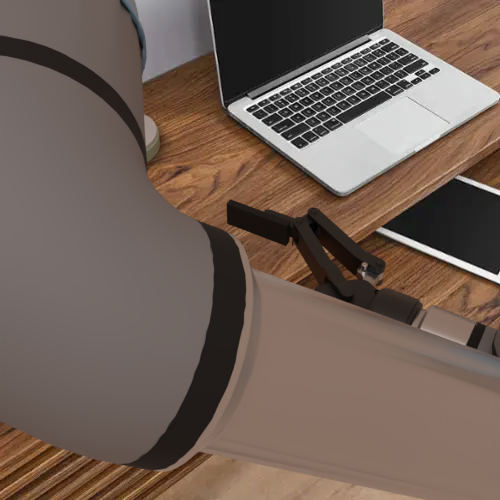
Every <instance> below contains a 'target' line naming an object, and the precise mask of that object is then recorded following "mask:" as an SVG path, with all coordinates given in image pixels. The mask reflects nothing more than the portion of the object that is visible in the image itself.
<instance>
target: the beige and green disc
mask: <svg viewBox="0 0 500 500" xmlns="http://www.w3.org/2000/svg"><path fill="white" fill-rule="evenodd" d="M144 123H145V140H146V154H147V163H148V162H150V161H151V160H152V159H154V158H155V157H156V155H157V154H158V153H159V150H160V147H161V141H160V140H161V139H160V131H159V128H158V126H157V124H156V123H155V120H153V119H152V118H151V117H150V116H148V115H146V114H144Z"/></svg>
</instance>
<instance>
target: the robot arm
mask: <svg viewBox="0 0 500 500" xmlns="http://www.w3.org/2000/svg"><path fill="white" fill-rule="evenodd" d="M147 53H148V52H147V40H146V34H145V31H144V27H143V25H142V23H141V21H140V17H139V12H138V7H137V2H136V0H0V423H2V424H5V425H7V426H10V427H12V428H13V429H15V430H17V431H20V432H22V433H23V434H27V435H29V436H31V437H33V438H35V439H37V440H40V441H42V442H44V443H46V444H48V445H51V446H52V447H55V448H58V449H61V450H65V451H68V452H70V453H73V454H77V455H80V456H83V457H86V458H88V459H92V460H96V461H100V462H106V463H111V464H115V465H119V466H125V467H131V468H135V469H141V470H146V471H151V472H153V471H154V472H158V473H159V472H161V473H162V472H169V471H170V472H171V471H172V470H175V469H179V467H181V466H183V465H185V464H186V463H187V462H188V461H190V460H191V459H192V457H194V456H195V455H196V454H197V453H203V454H209V455H212V456H217V457H223V458H226V459H227V458H228V459H232V460H237V461H241V462H244V463H245V462H246V463H250V464H255V465H261V466H265V467H269V468H274V469H278V470H283V471H288V472H293V473H298V474H302V475H308V476H310V477H311V476H312V477H316V478H322V479H326V480H331V481H335V482H340V483H344V484H349V485H354V486H359V487H364V488H367V489H368V488H369V489H373V490H376V491H377V490H378V491H382V492H387V493H392V494H396V495H400V496H406V497H410V498H414V499H420V500H500V323H499V324H498V327H497V328H494V327H492V326H489V325H486V324H483V323H482V322H477V321H476V320H473V319H471V318H469V317H466V316H463V315H460V314H458V313H456V312H453V311H451V310H448V309H446V308H443V307H441V306H438V305H436V304H432V305H430V306H428V307H427V309H425V308H424V304H423V302H421V299H419V298H416V297H414V296H411V295H408V294H407V293H404V292H401V291H398V290H395V289H392V288H390V287H383V288H381V289H378V288H376V287H379V286H381V285H383V282H384V276H385V271H386V266H387V262H386V261H385V259H382V258H380V257H378V256H377V255H374V254H372V253H369V251H366V250H365V249H364V248H363V247H361V246H360V244H358V243H357V242H356V241H355V240H354V239H353V238H352V237H350V236H349V235H348V234H347V233H346V232H345V231H343V229H341V228H340V227H339V226H338V225H337V224H336V223H335V222H334V221H333V220H331V219H330V218H329V217H328V216H327V215H325V213H324V212H322V211H321V210H320V209H319V208H318V207H310V208H308V209H307V212H306V214H304V215H303V216H296V217H292V216H289V215H287V214H284V213H281V212H278V211H276V210H273V209H268V208H267V209H264V210H260V209H258V208H255V207H253V206H250V205H247V204H244V203H242V202H239V201H237V200H234V199H232V198H230V199H229V200H228V201H227V203H226V204H225V205H226V206H225V207H226V225H229V226H231V227H234V228H237V229H240V230H242V231H245V232H247V233H250V234H254V235H255V236H257V237H260V238H263V239H266V240H269V241H271V242H274V243H276V244H279V245H281V246H283V247H287V246H288V244H289V243H290V240H291V246H292V247H294V246H295V247H296V249H297V251H298V253H299V254H300V255H301V257H302V259H303V260H304V262H305V264H306V265H307V267H308V269H309V270H310V272H311V274H312V276H313V277H314V279H315V281H316V282H317V285H316V286H315V287H314V289H311V288H310V287H306V286H303V285H301V284H298V283H295V282H292V281H289V280H287V279H284V278H281V277H278V276H276V275H273V274H270V273H268V272H265V271H262V270H259V269H256V268H253V267H252V265H251V262H250V259H249V256H248V254H247V252H246V249H245V247H244V245H243V244H242V242H241V241H240V239H239V238H237V236H235V235H234V234H233V233H231V232H229V231H227V230H225V229H223V228H220V227H217V226H214V225H211V224H209V223H206V222H204V221H201V220H198V219H196V218H194V217H192V216H190V215H188V214H186V213H184V212H183V211H180V210H179V209H178V208H176V206H174V205H173V204H172V203H170V202H169V201H168V200H167V198H165V197H164V196H163V195H162V193H161V192H159V190H158V189H157V188H156V187H155V185H154V184H153V182H152V180H151V179H150V177H149V175H148V162H147V154H146V140H145V123H144V115H145V108H144V107H145V106H144V86H143V85H144V84H143V74H144V71H145V70H146V63H147V57H148V56H147V55H148V54H147ZM290 238H291V239H290ZM326 251H327V252H328V253H329V254H330V255H331V256H332V257H334V259H335V260H336V261H338V262H339V263H340V264H341V265H342V266H343V267H344V268H345V269H346V270H347V271H348V272H349V273H351V274H352V276H354V277H356V279H347V278H346V277H345V275H344V274H343V272H342V270H341V269H340V267H339V266H338V265H337V263H333V261H332V259H331V258H330V256H329V255H328V253H327V252H326Z"/></svg>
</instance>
